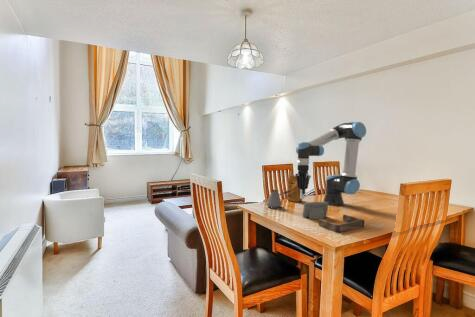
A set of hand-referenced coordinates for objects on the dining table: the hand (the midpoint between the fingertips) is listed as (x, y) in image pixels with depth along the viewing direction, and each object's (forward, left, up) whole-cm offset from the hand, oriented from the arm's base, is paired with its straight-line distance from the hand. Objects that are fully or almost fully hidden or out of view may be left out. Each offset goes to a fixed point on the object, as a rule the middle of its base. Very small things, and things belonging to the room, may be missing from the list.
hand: (302, 198), depth 178 cm
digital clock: (+12, +1, -11) cm, 16 cm away
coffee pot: (-18, -6, -11) cm, 22 cm away
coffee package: (-32, +21, -11) cm, 40 cm away
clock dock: (+32, 0, -10) cm, 34 cm away
